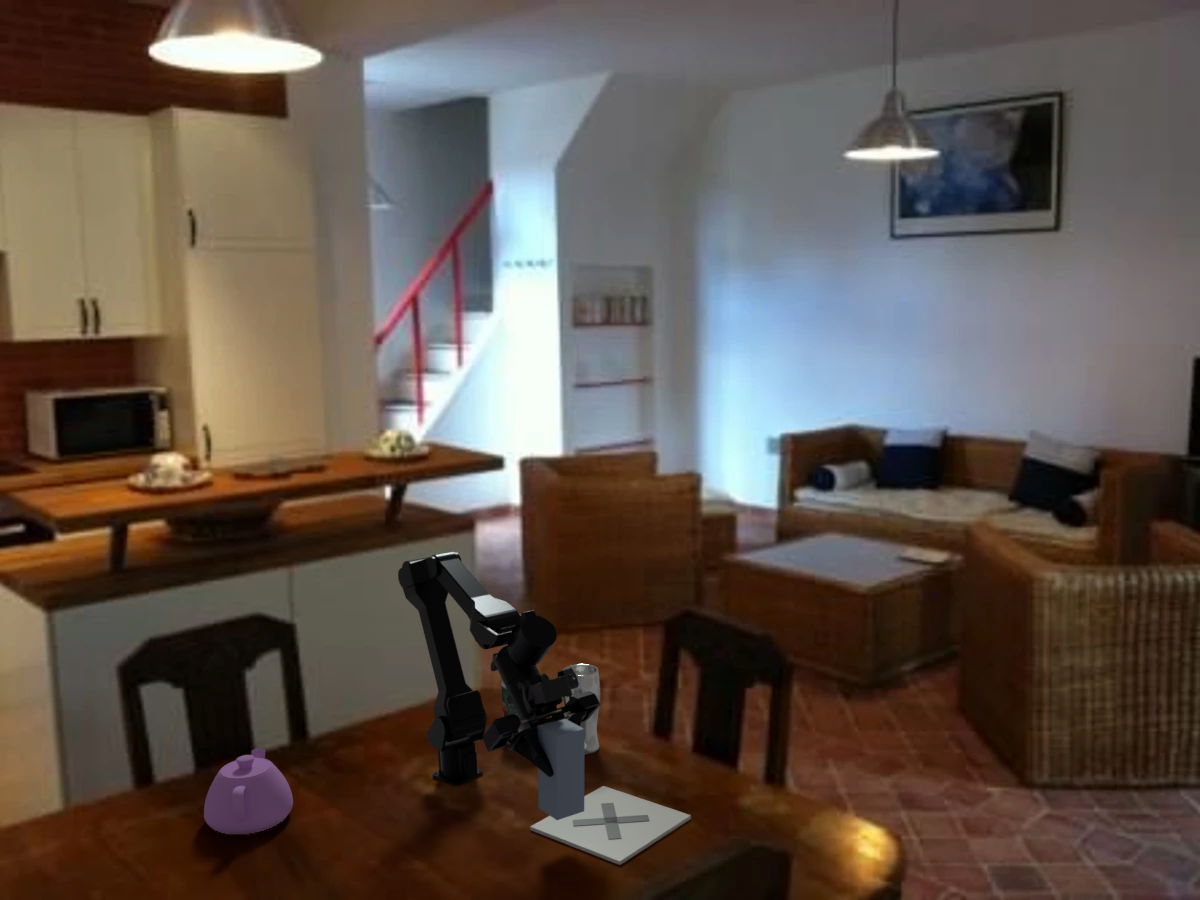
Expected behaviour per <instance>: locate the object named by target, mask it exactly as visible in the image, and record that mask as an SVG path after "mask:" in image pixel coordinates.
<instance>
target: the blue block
mask: <svg viewBox="0 0 1200 900" xmlns="http://www.w3.org/2000/svg"><path fill="white" fill-rule="evenodd" d="M538 739H539V742H540V744H541V746H542V748H543V750H544V752H545V754H546V756H547V758H548V760H549V762H550V764H551V767H552V769H553V772H554V774H553V776H552V777H549V776H547V775H546V774H545V773H544V772H542V771H541V770H540V769H539V768H538V767H537V774H538V775H537V777H538V778H537V779H538V780H537V781H538V782H537V783H538V786H537V787H538V789H537V790H538V791H537V792H538V795H537V796H538V797H537V798H538V802H537V803H538V804H537V807H538V808H537V809H539V810H541V811H542V812H543V813H545V814H547V815H548V816H551V817H553V818H554V819H556V820H559V819H562V818H565V817H568V816H571V815H574V814H577V813H581V812H584V796H585V754H584V728H582V727H580V726H578V725H576V724H574V723H572V722H570V721H569V720H567V719H563V720H559V721H555V722H552V723H548V724H544V725H540V726H538Z"/></svg>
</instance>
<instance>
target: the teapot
mask: <svg viewBox="0 0 1200 900" xmlns="http://www.w3.org/2000/svg"><path fill="white" fill-rule="evenodd" d="M293 805H294V798H293V794H292V789H291V788H290V784H289V783H288V781H287V779H286V777H285V776H284V775H283V773H282V772H281V771H280V770H279V768H278V767H277V766H276V765H275V764H274V763H273V762H272V761H271V760H270V759H267V758H266V750H265V749H260V748H255V749H251V753H250V754H244V755H241V756H238V757H237V758H235V760H233V761H231V762H229V763H227V764H225V765H224V766H223V767H221V768H220V770H219V771H218V772H217V773H216V775H215V777H214V779H213V781H212V782H211V784H210V786H209V789H208V792H207V793H206V797H205V801H204V808H203V818H204V821H205V822H206V824H207V825H208V826H209V827H210V828H211V829H212V830H214V831H215V832H216V831H218V832H221V833H225V834H249V833H255V832H260V831H264V830H266V829H269V828H272V827H273V826H276V825H277V824H279V823H280V822H281V823H282V822H283V821H284V820H285V819H287V817H288V815H289V814H290V812H291V811H292V808H293ZM281 823H280V824H281ZM280 824H279V825H280ZM277 826H278V825H277ZM277 826H276V827H277ZM272 829H273V828H272ZM218 832H217V833H218Z"/></svg>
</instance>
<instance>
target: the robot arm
mask: <svg viewBox="0 0 1200 900" xmlns="http://www.w3.org/2000/svg"><path fill="white" fill-rule="evenodd" d="M397 580H398V583H399V584H400V587H401V589H402V590H403V594H404V597H405V599H406V600H407V601H408V602H409V603H410V604H411V605H412V606H413V608H415V609H416V610H417V611H418V613H419V619H420V622H421V626H422V630H423V635H424V638H425V642H426V647H427V650H428V653H429V655H428V656H429V659H430V662H431V667H432V671H433V675H434V679H435V682H436V686H437V689H438V690H437V691H438V692H437V696H436V698H435V702H434V705H433V715H434V720H433V722H432V723H431V725H430V726H429V728H428V730H427V731H426V736H427V742H428V745H429V746H431V747H433V749H436V750H437V757H438V758H437V759H438V771H435V772H433V773H432V774H431V776H432V777H433V778H435V779H436V780H437V779H438V780H439V781H443V782H445V783H448V784H450V785H454V786H460V785H462V784H464V783H466V782H468V781H470V780H473V779H474V778H476V777H478V776H480V775H482V774H484V771H483V769H480V768H478V759H477V758H478V755H477V752H476V742H477V741H482V740H483V743H484V746H485V747H486V750H487V751H488V752H489V753H491V752H493V751H496V750H499V749H500V750H501V749H503V748H505V747H506V746H507V740H509V742H510V744H508V746H507V751H509V752H512V751H514V752H515V753H517V754H518V755H520V756H521V757H523V758H525V760H528V761H529V762H530V763H531V764H533V765H534V766H535V767H536V768H537V769H538V768H539V769H540V770H541V771H542V772H544V773H545V774H546V775H547V776H549V777H552V776H553V774H554V772H553V769H552V767H551V764H550V762H549V760H548V758H547V756H546V754H545V752H544V750H543V748H542V746H541V744H540V742H539V739H538V732H537V728H538V726H540V725H544V724H548V723H552V722H555V721H559V720H563V719H567V720H569V721H570V722H572V723H574V724H576V725H578V726H580V724H581V723H582V722H584V721H586V720H588V719H589V718H590V716H591V715H592V714H593V713H594V712H595V711H596V710H597V708H598V707H599V708H600V706H601V705H602V703H601V701H600V702H599V700H598V698H597V696H596V695H595V693H592V692H590V691H588V692H585V693H581V694H578V695H575V696H572V695H573V694H572V691H571V689H574V688H577V687H578V686H579V682H578V679H577V676H576V674H575V673H574V671H573V669H572V668H568V669H565V670H563V669H562V670H560V671H558V672H557V677H555V678H551V679H550V677H549V676H548V675H547V674H546V673H543V674H541V672H540V670H539V668H538V666H537V665H538V664H540V662H541V661H543V659H544V657H545V656H546V655H547V653H548V652H549V651H550V649H551V648H552V646H553V645H554V644H555V642H556V640H557V636H558V635H557V629H556V627H555V625H554V624H553V623H552V622H551V621H549V620H548V619H547V618H545V617H543V616H540V615H537V614H536V612H535V610H534V609H530V610H527V611H523V612H521V613H519V611H518V610H517V609H516V608H515V607H514V606H512V605H511V604H510V603H508V602H507V601H505V600H502V599H499V598H496V597H493V596H492V595H491V594H490V593H489V592H488V590H486V588H485V587H484V586H483V585H482V584H481V583H480V581H478V579H477V578H476V577H475V576H474V574H473V573H472V572H471V571H470V570H469V569H468V567H466V565H465V564H464V563H463V561H462V558H461V555H459V553H458V552H457V551H456V552H454V551H448V552H447V551H446V552H442V553H437V554H433V555H431V556H427V557H422V558H420V557H419V558H416V559H409V560H405V561H404V562H403V563H402V564H401V567H400V568H399V569H398V573H397ZM448 594H449V595H450V596H451V598H452V599H453V601H455V602H456V603H457V605H458V606H459V608H461V610H462V611H463V612H464V613H465V614H466V616H467V618H468V619H469V632H470V633H471V635H472V636H473V639H474V640H475V642H476V643H477V645H478V646H479V647H480V648H481V649H483V650H490V649H494V648H498V647H501V648H500V649H499V651H498V652H494V653H493V654H492V660H491V663H490V671H491V672H495V671H496V672H497V671H498V674H499V676H500V678H501V680H502V682H504V684H505V686H506V688H507V691H508V693H509V696H508V697H507V698H506V699H507V701H508V703H509V704H511V703H514V705H515V708H516V710H517V712H518V714H519V716H520V719H519V717H518V716H517V715H515V714H511V715H508V716H504V717H503V716H501V717H498V718H494V720H493V721H492V722H491V724H490V725H489V726H488V728H487V729H486V727H487V721H488V716H487V712H486V710H485V708H484V705H483V700H482V696H481V693H480V691H479V690H478V689H475V690H473V689H472V688H471V687H470V686H469V685H468V684H467V682H466V680H465V679H466V678H465V675H464V671H463V670H464V669H463V668H462V664H461V663H462V662H461V659H460V656H459V655H460V654H459V651H458V646H457V643H456V639H455V636H454V632H453V628H452V624H451V620H450V616H449V612H448V608H447V598H448V596H449V595H448ZM564 696H566V697H569V696H572V697H571V699H570V700H569V701H568V702H567V703H566V705H565V706H560V707H558V705H561V704H562V703H563V699H562V697H564ZM507 738H508V739H507Z"/></svg>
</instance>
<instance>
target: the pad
mask: <svg viewBox="0 0 1200 900" xmlns="http://www.w3.org/2000/svg"><path fill="white" fill-rule="evenodd" d="M691 819H692V816H691V814H689V813H688V814H687V813H685V812H683V811H680V810H677V809H673V808H671V807H667V806H664V805H661V804H659V803H655V802H652V801H649V800H648V799H647V800H646V799H643V798H642V797H641V798H640V797H638V796H635V795H633V794H629V793H626V792H623V791H619V790H617V789H614V788H611V787H609V786H605V785H602V786H600V787H598V788H597V789H595V790H594V791H592V792H590V793H588V794H586V795H584V812H581V813H577V814H574V815H571V816H568V817H565V818H562V819H559V820H556V819H554V818H553V817H551V816H550V815H548V816H547V817H544V818H543V819H541V820H540V821H538V822H536V823H534V824H532V825H530V827H529V828H530V831H531V832H534V833H537V834H540V835H541V836H544V837H547V838H549V839H553V840H555V841H557V842H560V843H563V844H565V845H567V846H570V847H571V848H572V847H573V848H575V849H578V850H579V851H580V850H581V851H583V852H586V853H589V854H591V855H593V856H595V857H598V858H601V859H603V860H606V861H608V862H611V863H612V864H615V865H619V866H621V865H622V864H624V863H626V862H627V861H629V860H630V859H632V858H634V857H635V856H636V855H638V854H640V853H641V852H643V851H644V850H645V849H647V848H649V847H650V846H652V845H653V844H654V843H656V842H657V841H660V840H661V839H662V838H664V837H665V836H667V835H668V834H670V833H672V832H673V831H675V830H676V829H678V828H679V827H681V826H682V825H684V824H685V823H687V822H689V821H690V820H691Z"/></svg>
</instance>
